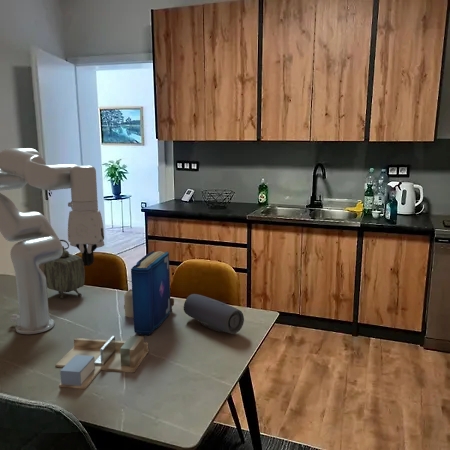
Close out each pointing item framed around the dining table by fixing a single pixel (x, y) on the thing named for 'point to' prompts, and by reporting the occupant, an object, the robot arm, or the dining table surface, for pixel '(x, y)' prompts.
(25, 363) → the dining table surface
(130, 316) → the candle
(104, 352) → the bookend
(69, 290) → the tabletop clock
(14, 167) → the robot arm
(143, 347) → the wooden platform
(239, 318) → the bluetooth speaker
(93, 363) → the blue-grey rectangular block
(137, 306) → the blue volume
